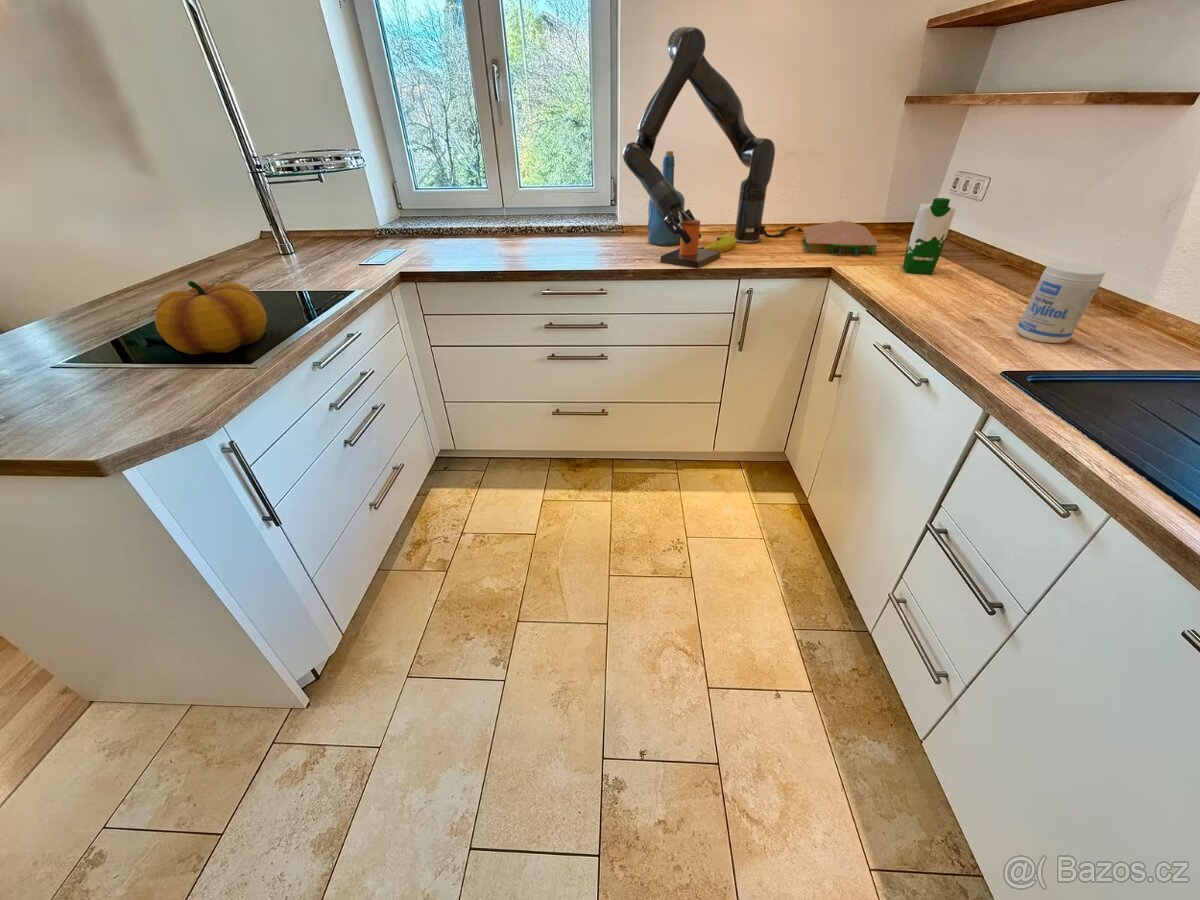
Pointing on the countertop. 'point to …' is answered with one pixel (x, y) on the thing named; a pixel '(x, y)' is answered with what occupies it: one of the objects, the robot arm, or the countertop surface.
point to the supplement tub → (1059, 301)
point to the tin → (693, 231)
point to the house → (840, 236)
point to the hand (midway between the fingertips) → (694, 240)
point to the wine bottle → (656, 224)
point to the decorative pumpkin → (210, 318)
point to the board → (691, 258)
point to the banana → (722, 243)
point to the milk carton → (928, 236)
